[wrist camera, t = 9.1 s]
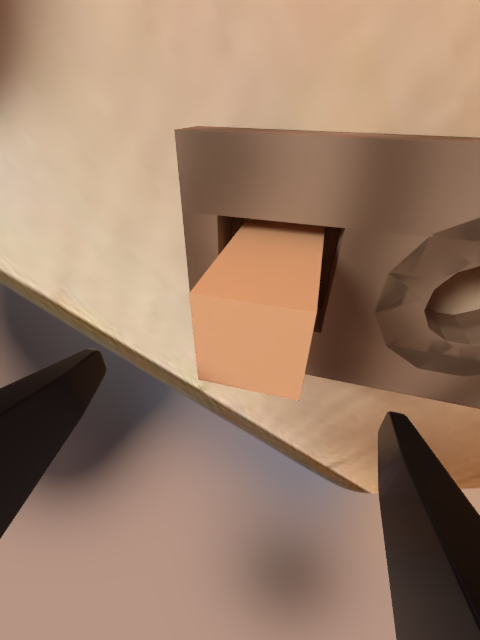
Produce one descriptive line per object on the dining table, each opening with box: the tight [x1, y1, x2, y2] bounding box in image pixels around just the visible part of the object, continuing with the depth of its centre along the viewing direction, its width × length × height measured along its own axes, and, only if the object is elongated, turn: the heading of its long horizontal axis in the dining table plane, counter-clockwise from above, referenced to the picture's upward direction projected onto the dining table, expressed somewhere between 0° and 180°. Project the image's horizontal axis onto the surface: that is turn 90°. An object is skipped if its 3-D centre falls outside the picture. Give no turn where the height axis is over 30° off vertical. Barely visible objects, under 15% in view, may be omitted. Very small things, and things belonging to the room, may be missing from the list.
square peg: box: [189, 218, 325, 401], centre depth 13 cm, size 4×4×8 cm
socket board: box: [175, 126, 480, 409], centre depth 15 cm, size 18×12×2 cm, turn 89°
